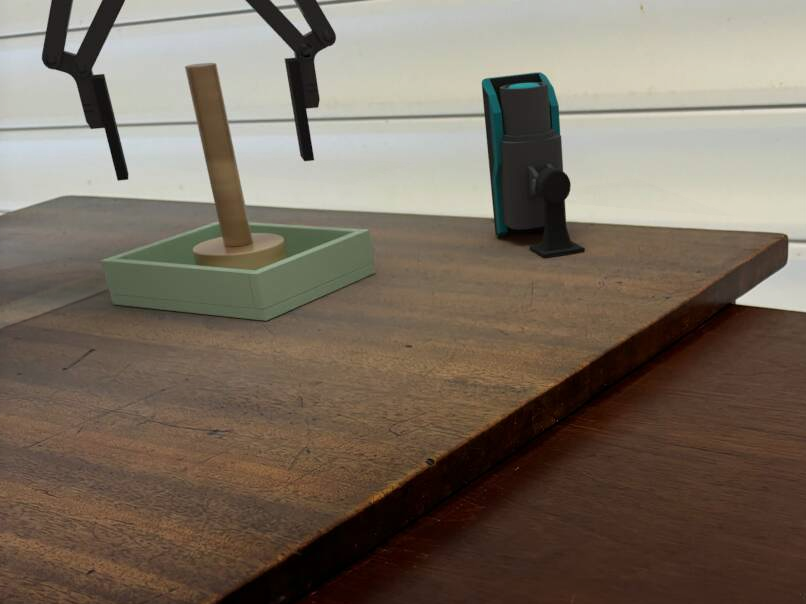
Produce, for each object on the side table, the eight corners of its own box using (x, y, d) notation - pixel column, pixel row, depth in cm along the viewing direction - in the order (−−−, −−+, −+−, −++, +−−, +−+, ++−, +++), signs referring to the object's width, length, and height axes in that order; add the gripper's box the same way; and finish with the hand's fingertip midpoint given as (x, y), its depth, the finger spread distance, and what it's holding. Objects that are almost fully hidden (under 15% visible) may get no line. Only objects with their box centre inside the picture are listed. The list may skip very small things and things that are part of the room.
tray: (112, 304, 91) (100, 260, 89) (229, 261, 101) (220, 220, 99) (266, 321, 85) (256, 273, 83) (375, 273, 94) (369, 229, 92)
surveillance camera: (519, 90, 88) (478, 79, 95) (532, 259, 95) (493, 236, 102) (588, 81, 89) (543, 71, 97) (596, 249, 96) (553, 227, 104)
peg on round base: (182, 286, 91) (129, 71, 83) (250, 264, 96) (207, 58, 87) (241, 296, 88) (192, 72, 79) (309, 273, 92) (270, 58, 84)
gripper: (-72, -192, 70) (39, 194, 82) (343, -208, 75) (388, 158, 87) (-56, -183, 76) (46, 176, 88) (328, -199, 81) (373, 143, 93)
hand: (216, 168), depth 88 cm, fingers open, 13 cm apart
